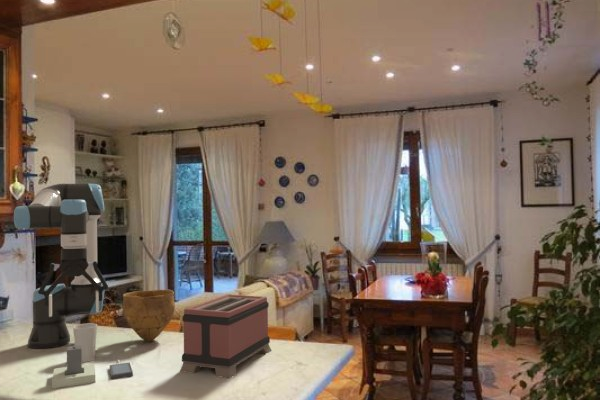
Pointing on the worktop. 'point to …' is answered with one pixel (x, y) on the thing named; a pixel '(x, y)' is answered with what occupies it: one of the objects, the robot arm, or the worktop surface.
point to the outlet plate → (73, 376)
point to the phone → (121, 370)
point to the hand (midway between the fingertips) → (74, 313)
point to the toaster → (225, 333)
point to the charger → (74, 360)
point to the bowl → (148, 311)
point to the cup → (86, 340)
